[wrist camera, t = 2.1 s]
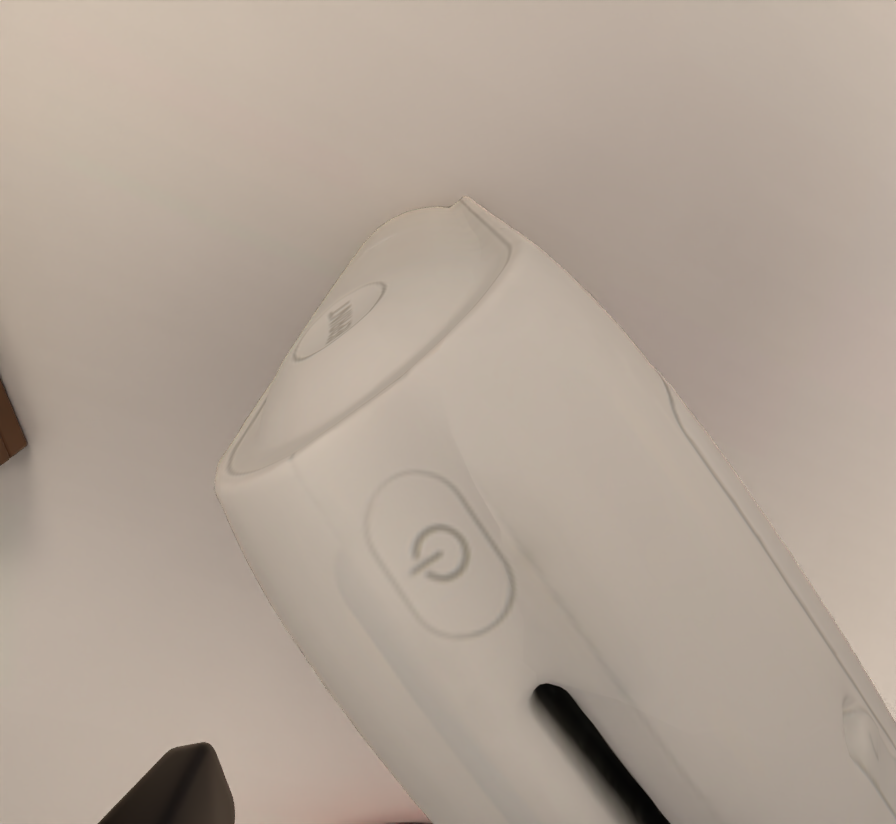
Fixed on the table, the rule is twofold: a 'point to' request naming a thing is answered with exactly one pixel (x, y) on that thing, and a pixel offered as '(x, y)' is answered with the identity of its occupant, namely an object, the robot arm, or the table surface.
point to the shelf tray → (9, 429)
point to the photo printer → (538, 558)
